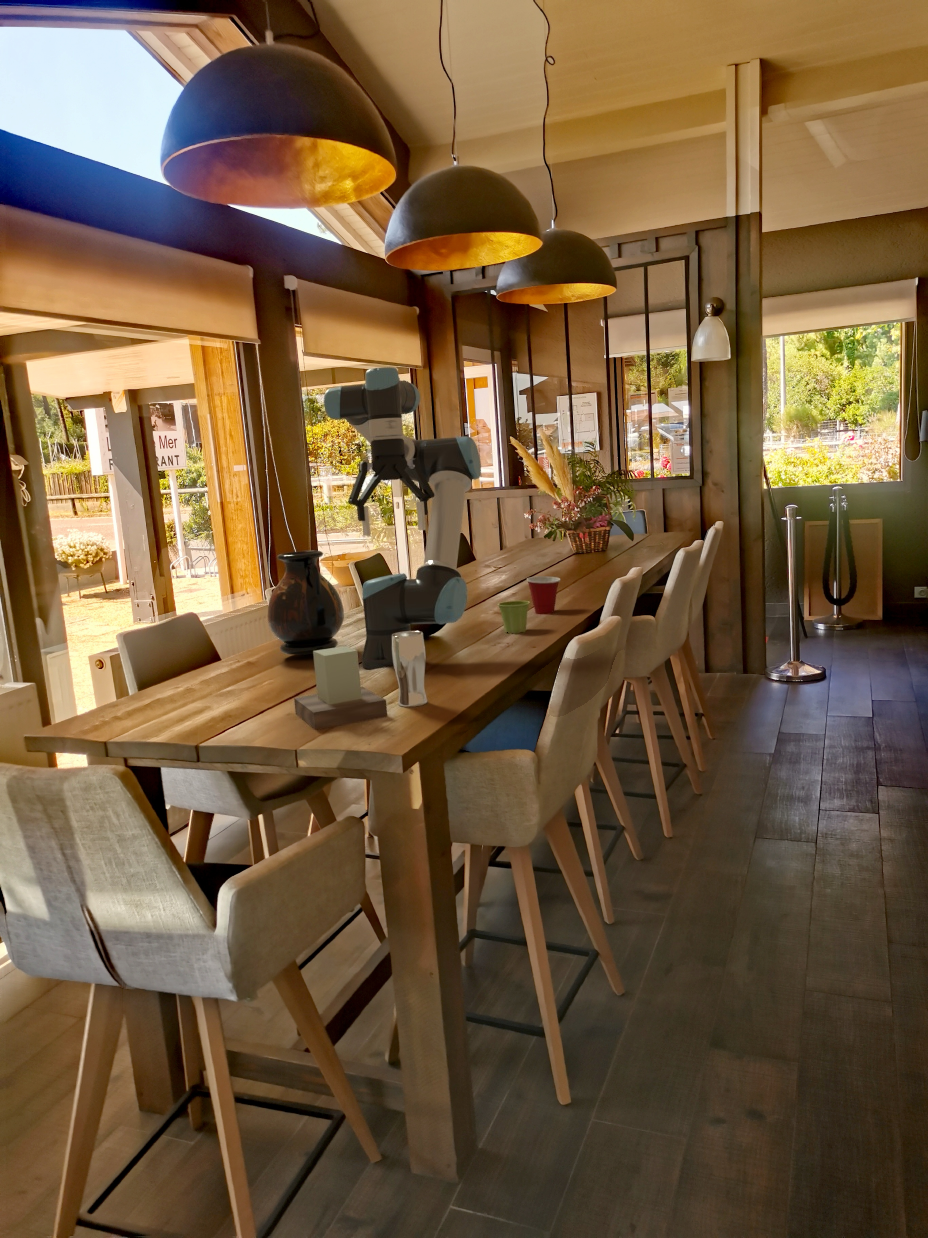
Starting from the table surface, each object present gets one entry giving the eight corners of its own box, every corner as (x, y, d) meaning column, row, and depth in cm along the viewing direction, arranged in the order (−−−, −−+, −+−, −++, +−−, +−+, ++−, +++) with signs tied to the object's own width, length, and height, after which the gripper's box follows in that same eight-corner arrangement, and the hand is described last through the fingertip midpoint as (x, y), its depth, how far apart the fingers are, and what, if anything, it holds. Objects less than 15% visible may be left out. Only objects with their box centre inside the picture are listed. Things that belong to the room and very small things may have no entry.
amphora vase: (360, 648, 264) (351, 549, 260) (290, 661, 252) (280, 558, 248) (326, 640, 282) (317, 547, 277) (259, 652, 270) (249, 555, 265)
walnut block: (295, 716, 195) (294, 697, 195) (363, 704, 201) (362, 686, 201) (315, 732, 182) (313, 712, 181) (387, 719, 188) (385, 699, 187)
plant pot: (501, 630, 277) (499, 601, 276) (532, 628, 276) (531, 599, 274) (497, 635, 268) (495, 606, 266) (530, 634, 266) (528, 604, 265)
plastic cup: (550, 618, 291) (548, 580, 289) (522, 617, 298) (519, 579, 296) (568, 612, 300) (566, 575, 298) (540, 611, 306) (538, 575, 304)
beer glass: (398, 700, 200) (392, 631, 198) (430, 698, 200) (424, 629, 198) (394, 708, 193) (388, 637, 191) (428, 706, 193) (422, 635, 191)
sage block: (317, 698, 193) (313, 651, 191) (349, 692, 196) (345, 646, 194) (329, 704, 187) (324, 655, 185) (361, 698, 190) (357, 650, 188)
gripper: (339, 440, 202) (348, 538, 205) (444, 434, 212) (450, 527, 215) (328, 442, 208) (337, 537, 212) (430, 436, 219) (437, 527, 222)
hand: (394, 532), depth 213 cm, fingers open, 13 cm apart
